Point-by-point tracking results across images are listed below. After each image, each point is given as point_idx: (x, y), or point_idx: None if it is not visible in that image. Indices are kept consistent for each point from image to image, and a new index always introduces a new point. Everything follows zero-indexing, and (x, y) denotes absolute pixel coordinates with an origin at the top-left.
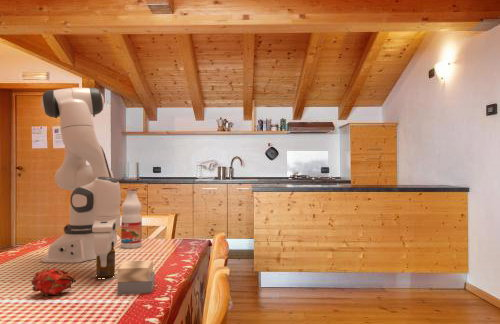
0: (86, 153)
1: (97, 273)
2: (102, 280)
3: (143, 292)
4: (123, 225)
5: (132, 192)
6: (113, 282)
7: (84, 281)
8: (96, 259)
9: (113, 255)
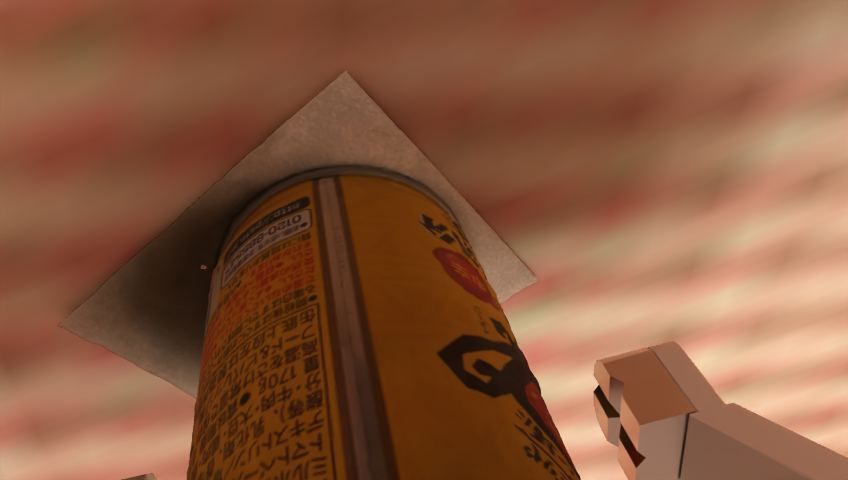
0: None
1: (232, 257)
2: (107, 341)
3: None
4: None
5: None
6: (80, 465)
7: (3, 97)
8: (295, 388)
9: None
